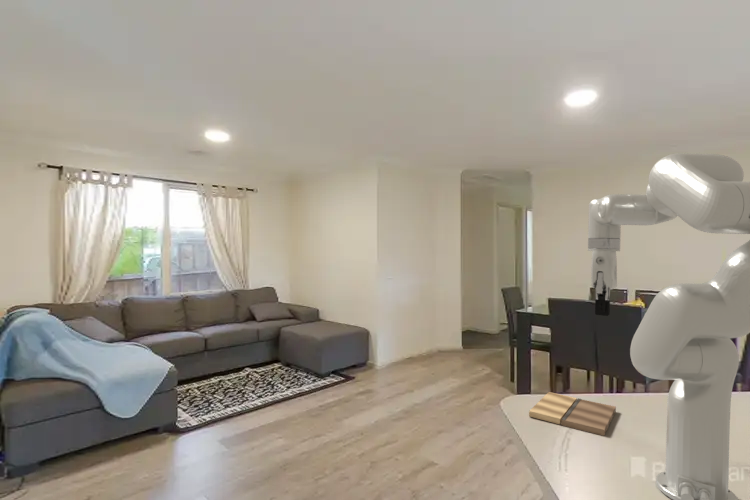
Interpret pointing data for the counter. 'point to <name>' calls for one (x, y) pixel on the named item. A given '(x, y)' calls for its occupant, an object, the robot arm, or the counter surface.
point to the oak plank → (552, 407)
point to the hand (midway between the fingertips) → (602, 314)
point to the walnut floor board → (589, 416)
